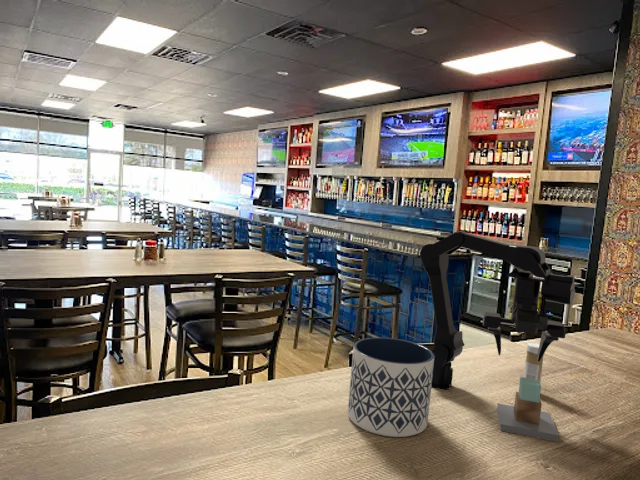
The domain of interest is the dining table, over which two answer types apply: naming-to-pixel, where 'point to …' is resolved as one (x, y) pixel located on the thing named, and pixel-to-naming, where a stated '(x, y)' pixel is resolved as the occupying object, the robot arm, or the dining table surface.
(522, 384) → the teal block
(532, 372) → the sprinkles bottle
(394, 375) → the planter
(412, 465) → the dining table surface
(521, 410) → the walnut block
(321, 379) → the dining table surface
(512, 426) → the slate board
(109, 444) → the dining table surface
